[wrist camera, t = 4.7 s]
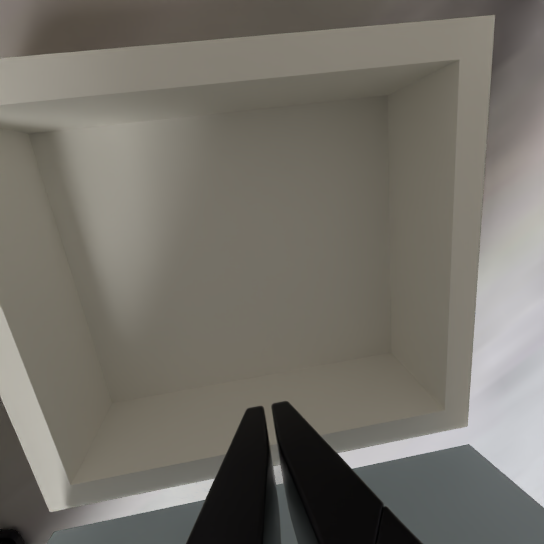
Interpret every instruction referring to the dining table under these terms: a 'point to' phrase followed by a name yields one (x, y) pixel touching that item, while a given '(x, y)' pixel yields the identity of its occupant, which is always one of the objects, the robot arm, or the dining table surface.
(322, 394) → the open box
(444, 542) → the lid flap
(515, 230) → the dining table surface
